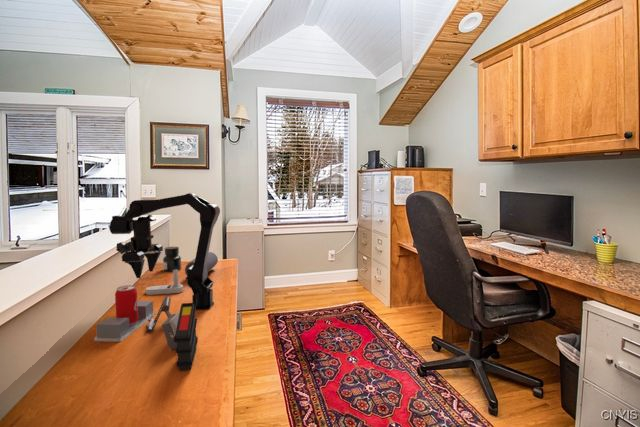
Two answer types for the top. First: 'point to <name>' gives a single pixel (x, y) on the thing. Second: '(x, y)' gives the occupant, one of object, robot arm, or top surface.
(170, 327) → the electrical switch
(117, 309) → the beverage can
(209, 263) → the bluetooth speaker
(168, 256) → the ink bottle
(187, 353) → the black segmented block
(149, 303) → the mounted modules
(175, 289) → the electronic device
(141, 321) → the rail
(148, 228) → the robot arm
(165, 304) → the portable electronic device stand
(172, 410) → the top surface
